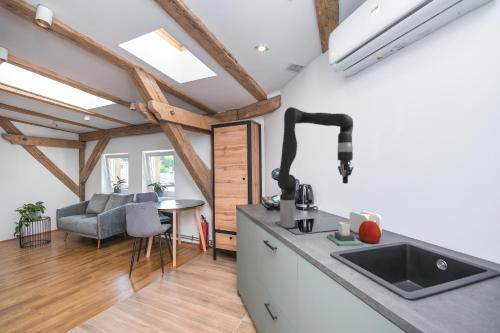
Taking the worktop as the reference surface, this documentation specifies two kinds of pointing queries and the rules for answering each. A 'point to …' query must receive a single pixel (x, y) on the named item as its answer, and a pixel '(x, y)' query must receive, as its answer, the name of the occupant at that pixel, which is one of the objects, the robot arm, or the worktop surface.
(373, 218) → the cable organizer
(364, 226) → the apple
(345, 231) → the plug
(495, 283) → the worktop surface
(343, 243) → the board
